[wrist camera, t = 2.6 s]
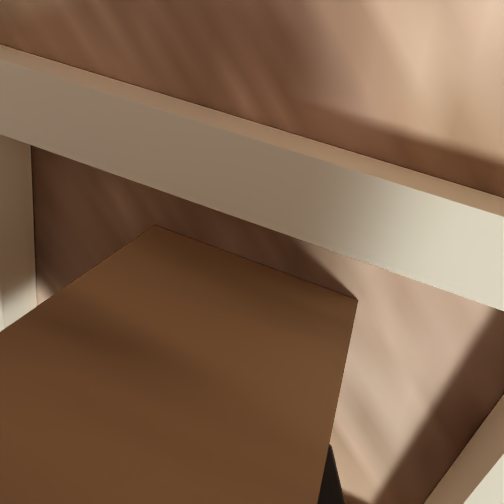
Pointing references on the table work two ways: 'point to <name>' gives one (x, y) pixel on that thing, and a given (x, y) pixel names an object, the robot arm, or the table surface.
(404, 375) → the table surface
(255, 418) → the block
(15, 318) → the pocket frame
